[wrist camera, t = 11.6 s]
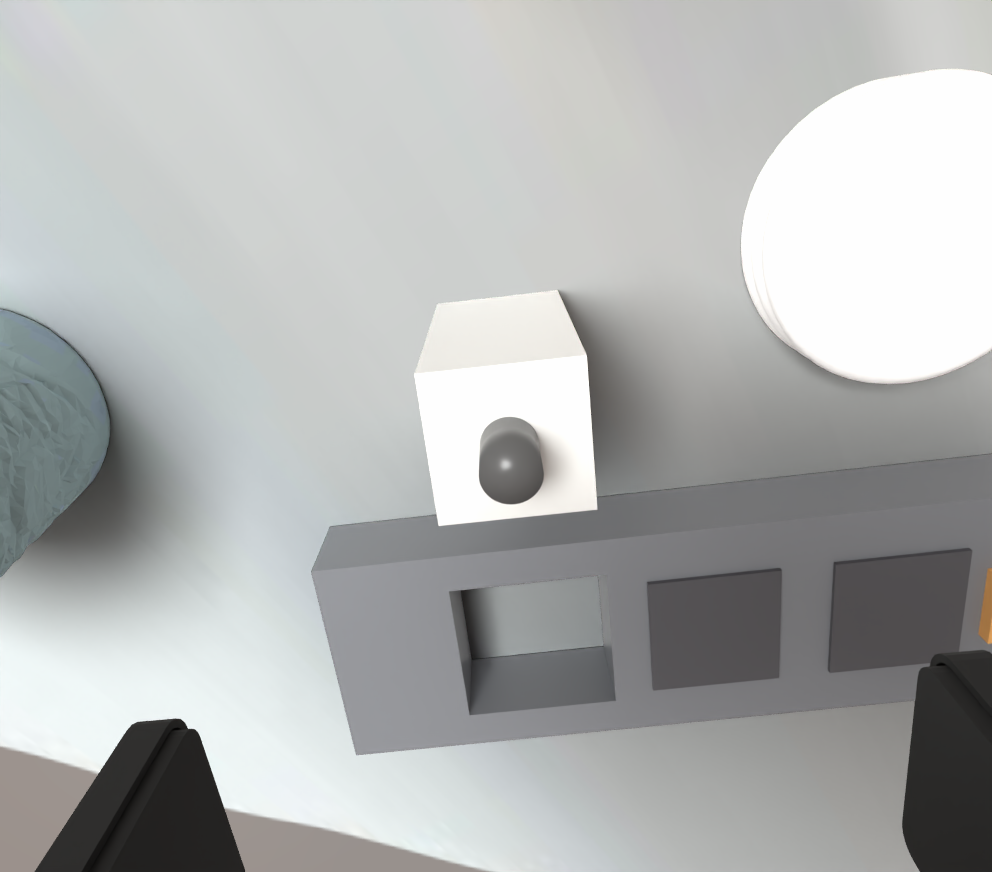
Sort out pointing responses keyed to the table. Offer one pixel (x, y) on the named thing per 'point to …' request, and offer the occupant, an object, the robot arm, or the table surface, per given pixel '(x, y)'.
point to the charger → (506, 410)
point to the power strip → (667, 605)
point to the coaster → (880, 229)
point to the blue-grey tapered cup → (43, 431)
